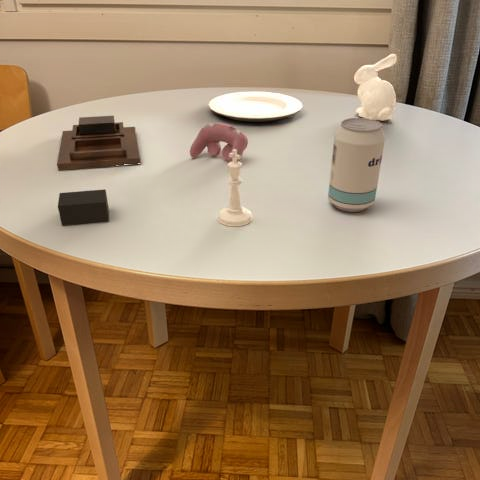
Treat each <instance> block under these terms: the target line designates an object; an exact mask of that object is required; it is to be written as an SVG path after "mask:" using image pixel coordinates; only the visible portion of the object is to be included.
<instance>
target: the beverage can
mask: <svg viewBox="0 0 480 480" xmlns="http://www.w3.org/2000/svg"><path fill="white" fill-rule="evenodd" d="M385 141H386V137H385V134H384V131H383V124H382V123H381V121H379V120H372V119H366V118H363V117H351V118H346V119H343V120H342V121H340V126H339V128H338V129H337V130H336V132H335V133H334V137H333V148H332V157H331V167H330V175H329V184H328V193H327V195H328V196H327V200H328V201H329V203H331V204H333V206H334V207H335V208H336V209H338V210H340V211H343V212H348V213H358V212H362V211H364V210H366V209H367V208H369V207H371V206H373V204H374V203H375V201H376V196H377V189H378V184H379V177H380V171H381V166H382V160H383V155H384V147H385Z"/></svg>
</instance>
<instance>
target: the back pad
mask: <svg viewBox="0 0 480 480" xmlns="http://www.w3.org/2000/svg"><path fill="white" fill-rule="evenodd" d="M57 209H58V215H59V219H60V223H61V226H73V225H83V224H94V223H105V222H109V221H110V211H109V209H110V208H109V203H108V195H107V190H106V189H93V190H81V191H68V192H59V194H58V201H57Z"/></svg>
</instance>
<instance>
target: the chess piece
mask: <svg viewBox="0 0 480 480" xmlns="http://www.w3.org/2000/svg"><path fill="white" fill-rule="evenodd" d="M229 157H232V158H233V161H232V162H229V163H228V162H227V166H226V167H227V169H228V172H229V174H230V178H228V179H227V181H226V183H227V184H228V185H231V188H230V195H229V197H230V198H229V204H228V206H227V207H224V208H223V209H220V211H218V214H217V221H218V222H219V224H222V225H223V226H227V227H243V226H246V225H248V224H250V223H251V222H252V221H253V216H252V211H250V210H249V209H247V208H245V207H243V205H241V197H240V189H239V187H240V186H239V185H242V184H243V183H244V182H243V179H242V178H241V177H240V174H241V171H242V168H243V163H242V162H240V161H239V162H237V159H238V160H239V159H240V160H241V158H242V157H241V156H240V155H237V150H236V149H234V150H232V153H229Z"/></svg>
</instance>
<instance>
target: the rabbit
mask: <svg viewBox="0 0 480 480" xmlns="http://www.w3.org/2000/svg"><path fill="white" fill-rule="evenodd" d="M397 61H398V56H397V54H396V53H390V54H389V55H388V56H386V57H384V58H382V59H380V60H379V61H377V62H376V63H373V64H365V65H362V66H360V67H359V68H358V69H357V71H356V72H355V73H354V76H353V77H354V82H355V83H356V84H358V88H357V97H358V99H359V101H360V102H361V105H360V107H357V108H356V110H355V113H356V114H358V117H359V118H366V119H372V120H375V121H379V122H381V121H382V122H383V121H387V120H389V119H391V118H392V117H393V115H394V112H395V108H396V104H397V96H396V92H395V89H394V85H392V84H391V83H390V82H389V81H388V80H383V79H381V77H379V76H378V75H379V74H378V72H379V71H381V70H384V69H387V68H391V67H392V66H394V65H395V64H396V63H397Z"/></svg>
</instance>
